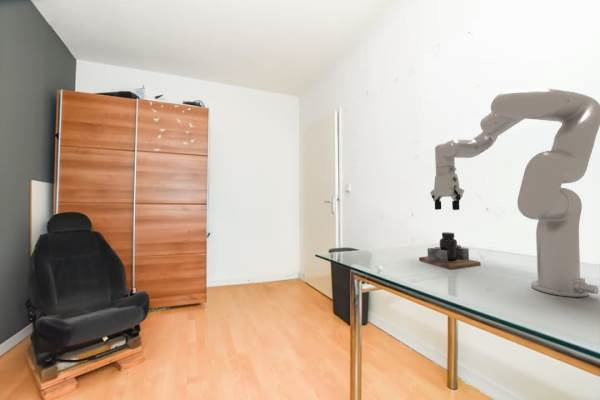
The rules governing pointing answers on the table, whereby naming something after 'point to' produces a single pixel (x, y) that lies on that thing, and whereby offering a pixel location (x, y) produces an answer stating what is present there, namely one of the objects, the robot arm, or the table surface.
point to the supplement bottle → (449, 245)
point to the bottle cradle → (440, 259)
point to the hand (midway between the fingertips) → (446, 209)
